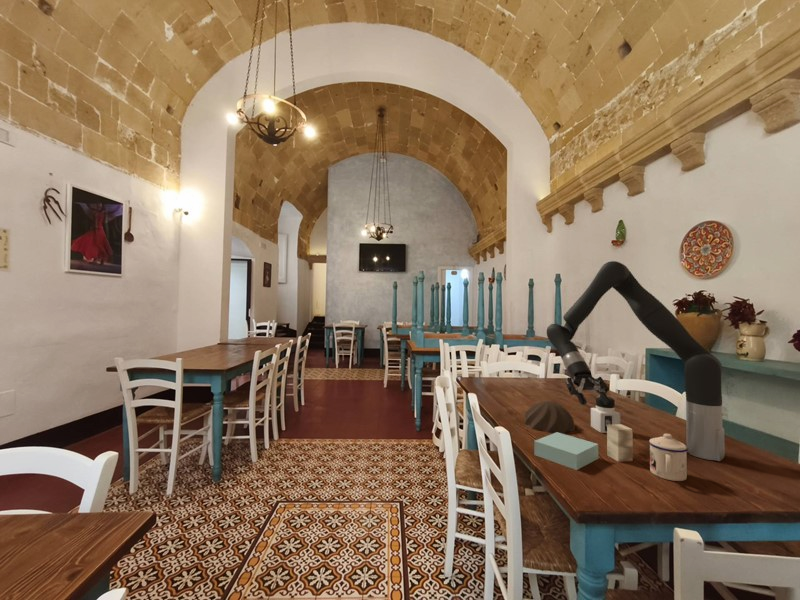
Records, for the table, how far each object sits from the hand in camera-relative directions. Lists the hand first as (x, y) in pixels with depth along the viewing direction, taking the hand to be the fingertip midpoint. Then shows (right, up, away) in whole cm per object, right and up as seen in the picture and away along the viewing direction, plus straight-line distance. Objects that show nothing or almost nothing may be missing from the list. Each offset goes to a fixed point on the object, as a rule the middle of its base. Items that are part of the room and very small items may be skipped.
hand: (596, 403), depth 130 cm
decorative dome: (-8, -15, +21) cm, 27 cm away
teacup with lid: (+8, -14, -24) cm, 29 cm away
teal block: (-16, -15, -11) cm, 24 cm away
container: (+12, -15, +16) cm, 25 cm away
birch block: (+1, -14, -12) cm, 18 cm away
